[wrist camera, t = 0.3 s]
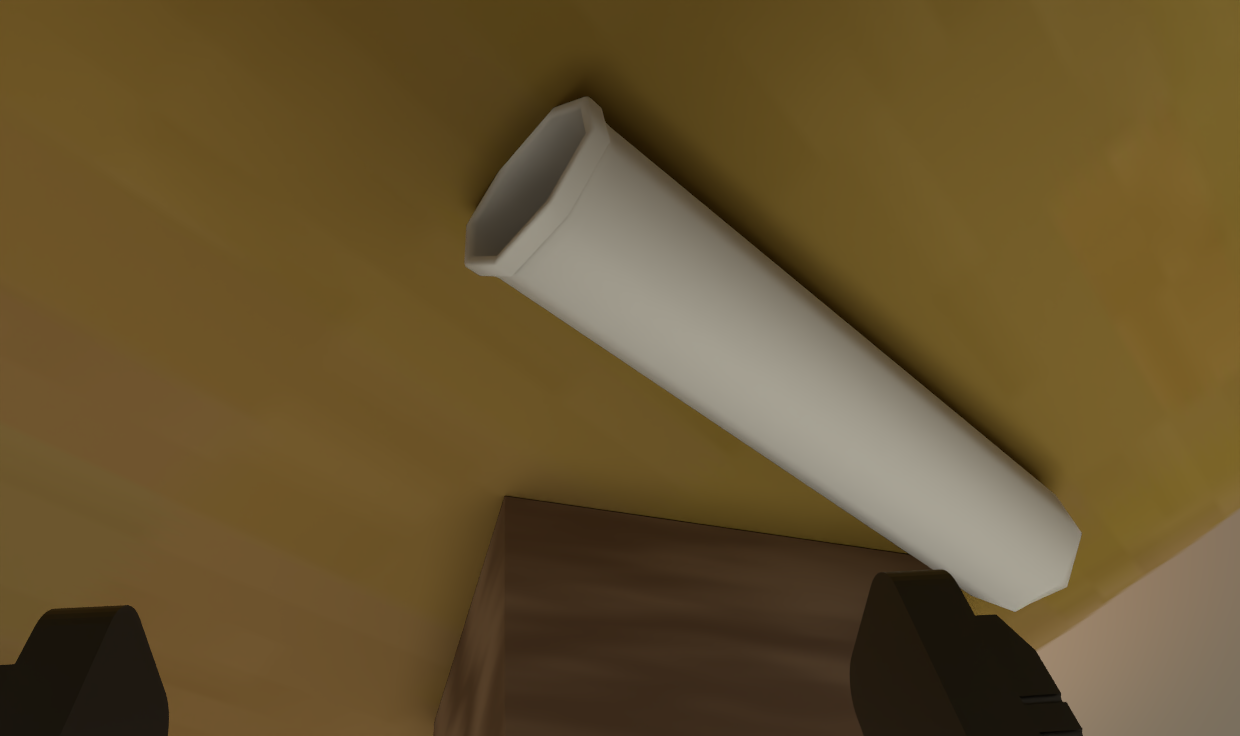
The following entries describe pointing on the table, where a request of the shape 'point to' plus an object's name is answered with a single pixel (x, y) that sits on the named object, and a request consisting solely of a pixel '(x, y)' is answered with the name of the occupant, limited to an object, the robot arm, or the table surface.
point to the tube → (760, 355)
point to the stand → (657, 629)
